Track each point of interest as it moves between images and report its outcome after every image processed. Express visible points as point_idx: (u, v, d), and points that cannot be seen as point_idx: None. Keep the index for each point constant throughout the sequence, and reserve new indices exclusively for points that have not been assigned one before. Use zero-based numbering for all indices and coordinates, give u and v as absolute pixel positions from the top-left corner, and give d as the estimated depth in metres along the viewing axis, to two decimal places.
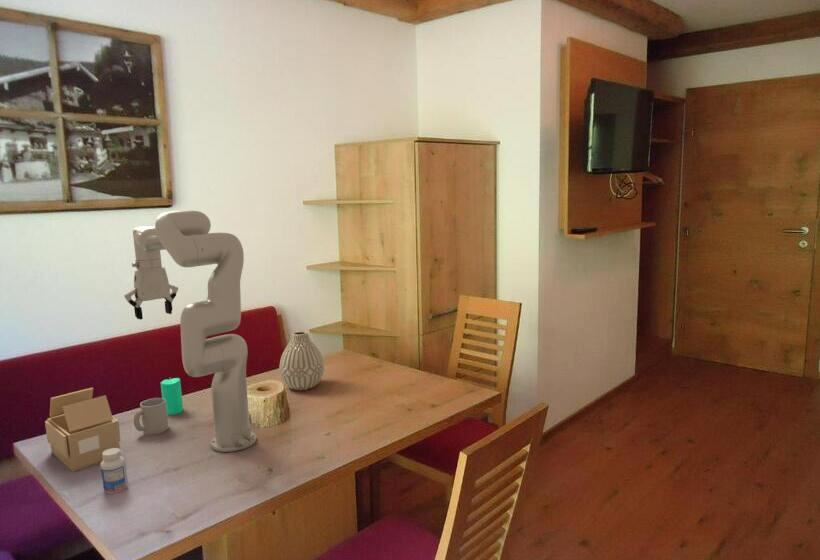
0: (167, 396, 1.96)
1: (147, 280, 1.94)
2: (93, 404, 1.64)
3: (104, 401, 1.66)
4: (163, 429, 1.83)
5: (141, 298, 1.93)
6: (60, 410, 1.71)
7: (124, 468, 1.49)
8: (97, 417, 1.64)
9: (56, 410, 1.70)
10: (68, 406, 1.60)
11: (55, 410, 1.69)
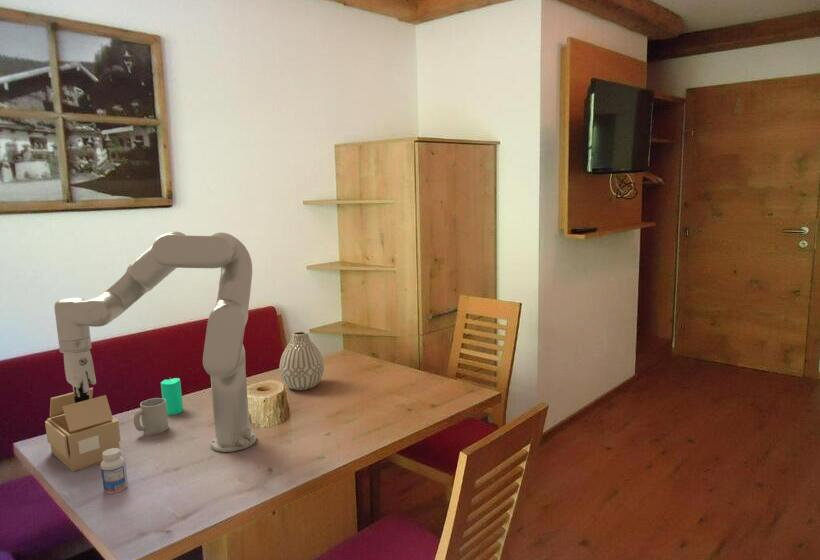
0: (167, 396, 1.96)
1: None
2: (93, 404, 1.64)
3: (104, 401, 1.66)
4: (163, 429, 1.83)
5: (95, 381, 1.63)
6: (60, 410, 1.71)
7: (124, 468, 1.49)
8: (97, 417, 1.63)
9: (56, 410, 1.70)
10: (68, 406, 1.60)
11: (55, 410, 1.69)
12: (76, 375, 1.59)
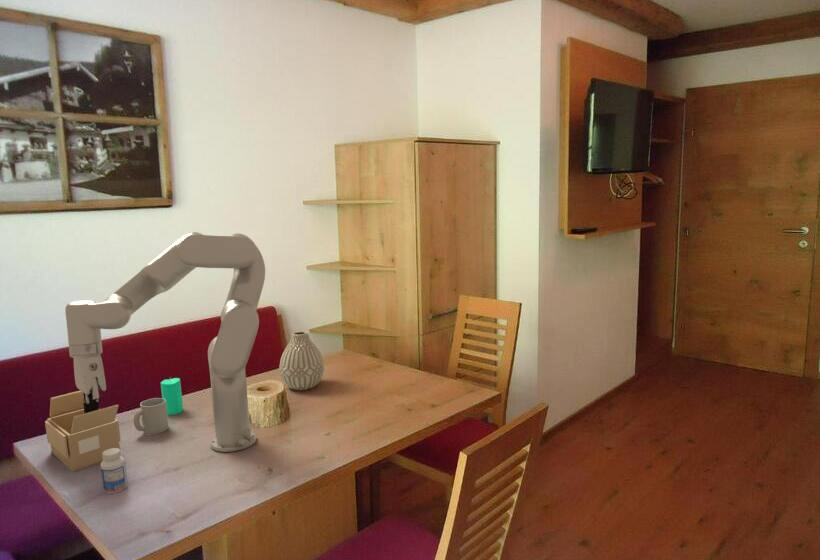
0: (167, 396, 1.96)
1: None
2: (103, 413, 1.60)
3: (114, 410, 1.62)
4: (163, 429, 1.83)
5: (105, 388, 1.57)
6: (60, 410, 1.71)
7: (124, 468, 1.49)
8: (101, 421, 1.62)
9: (56, 410, 1.70)
10: (79, 417, 1.55)
11: (55, 410, 1.69)
12: (86, 381, 1.53)
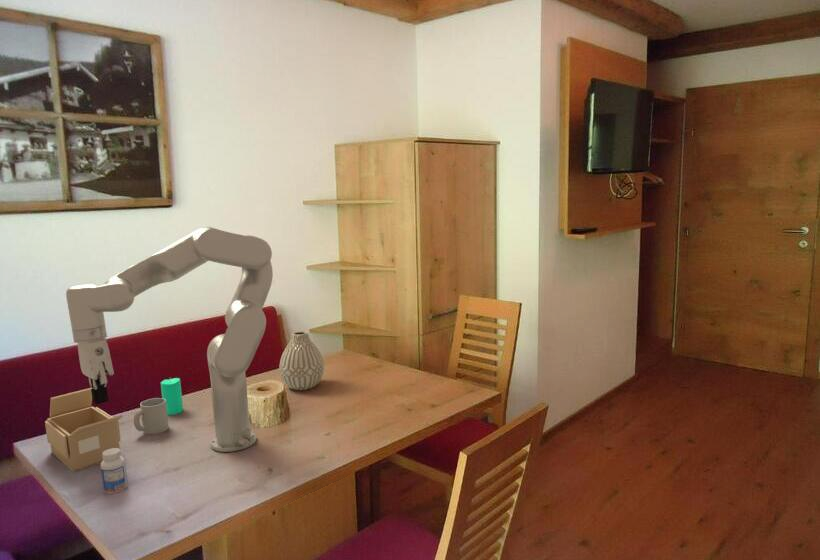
0: (167, 396, 1.96)
1: None
2: (106, 422, 1.59)
3: (117, 419, 1.61)
4: (163, 429, 1.83)
5: (113, 372, 1.54)
6: (60, 410, 1.71)
7: (124, 468, 1.49)
8: (102, 425, 1.62)
9: (56, 410, 1.70)
10: (83, 428, 1.54)
11: (55, 410, 1.69)
12: (93, 366, 1.50)
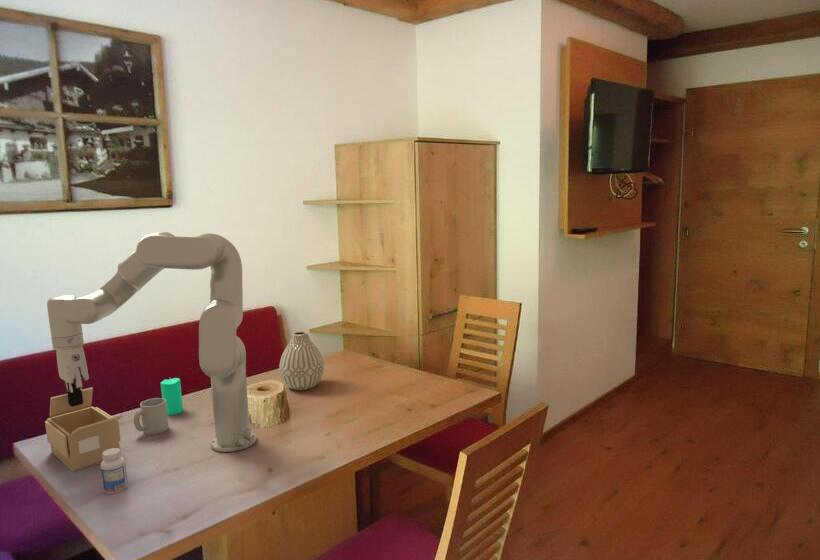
0: (167, 396, 1.96)
1: None
2: (106, 422, 1.59)
3: (117, 419, 1.61)
4: (163, 429, 1.83)
5: (88, 377, 1.66)
6: (60, 410, 1.71)
7: (124, 468, 1.49)
8: (102, 425, 1.62)
9: (56, 410, 1.70)
10: (83, 428, 1.54)
11: (55, 410, 1.69)
12: (69, 371, 1.63)
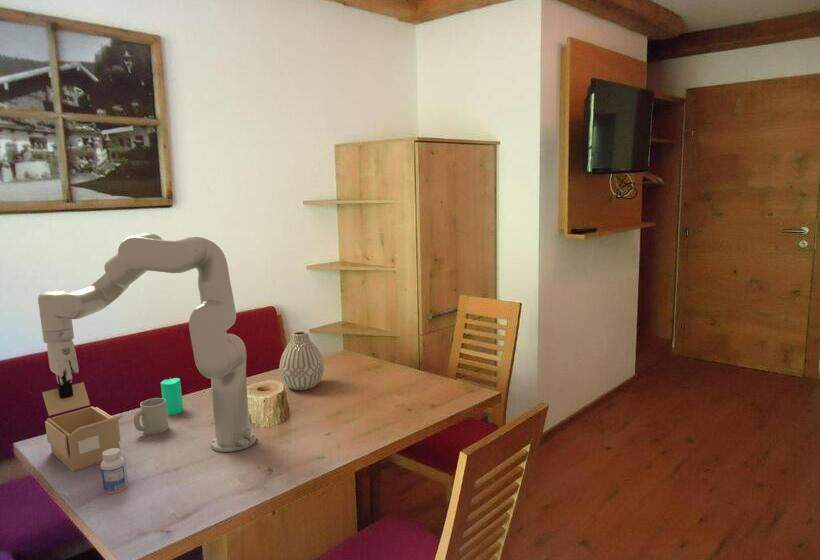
0: (167, 396, 1.96)
1: None
2: (106, 422, 1.59)
3: (117, 419, 1.61)
4: (163, 429, 1.83)
5: (78, 370, 1.71)
6: (57, 407, 1.72)
7: (124, 468, 1.49)
8: (102, 425, 1.62)
9: (53, 407, 1.71)
10: (83, 428, 1.54)
11: (52, 407, 1.71)
12: (59, 364, 1.68)
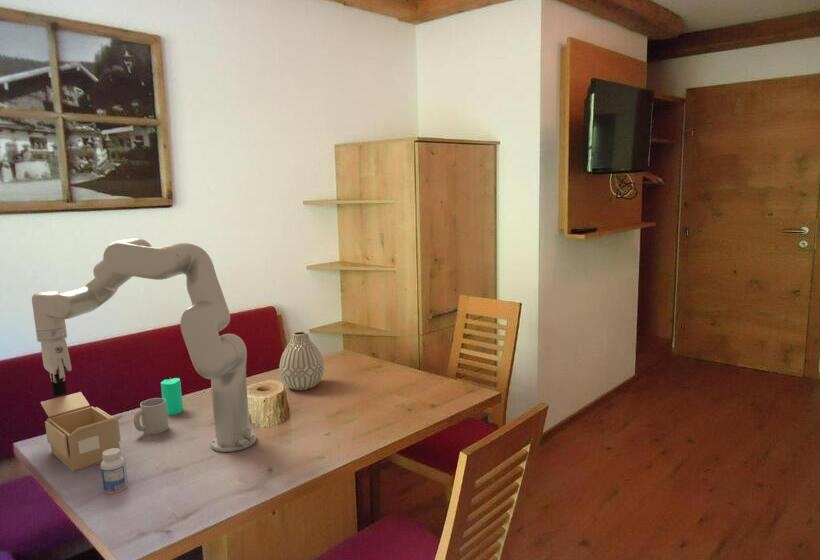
0: (167, 396, 1.96)
1: None
2: (106, 422, 1.59)
3: (117, 419, 1.61)
4: (163, 429, 1.83)
5: None
6: (56, 410, 1.73)
7: (124, 468, 1.49)
8: (102, 425, 1.62)
9: (52, 410, 1.73)
10: (83, 428, 1.54)
11: (51, 410, 1.72)
12: (52, 362, 1.72)
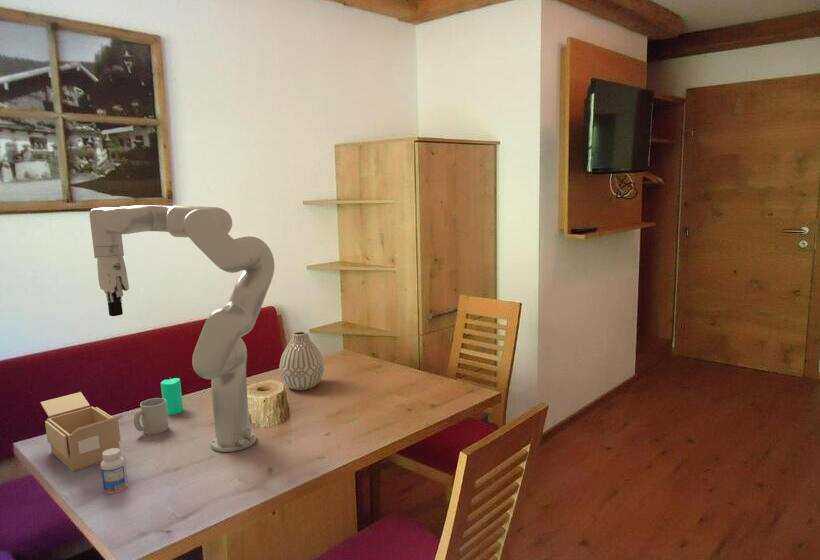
0: (167, 396, 1.96)
1: None
2: (106, 422, 1.59)
3: (117, 419, 1.61)
4: (163, 429, 1.83)
5: (128, 287, 1.71)
6: (56, 410, 1.73)
7: (124, 468, 1.49)
8: (102, 425, 1.62)
9: (52, 410, 1.73)
10: (83, 428, 1.54)
11: (51, 410, 1.72)
12: (111, 279, 1.68)
